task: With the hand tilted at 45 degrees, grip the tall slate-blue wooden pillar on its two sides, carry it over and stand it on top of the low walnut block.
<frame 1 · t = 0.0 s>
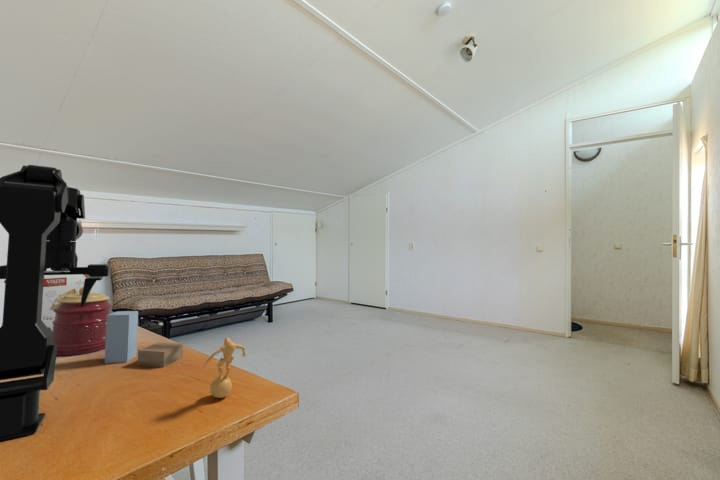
hand: (56, 308, 74), 15 cm above the table, tool pointing down, fingers open, 9 cm apart
canister: (82, 349, 91), on the table
figurine: (223, 399, 62), on the table
walnut block: (160, 362, 82), on the table
blue pillar: (121, 359, 83), on the table
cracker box: (64, 339, 100), on the table
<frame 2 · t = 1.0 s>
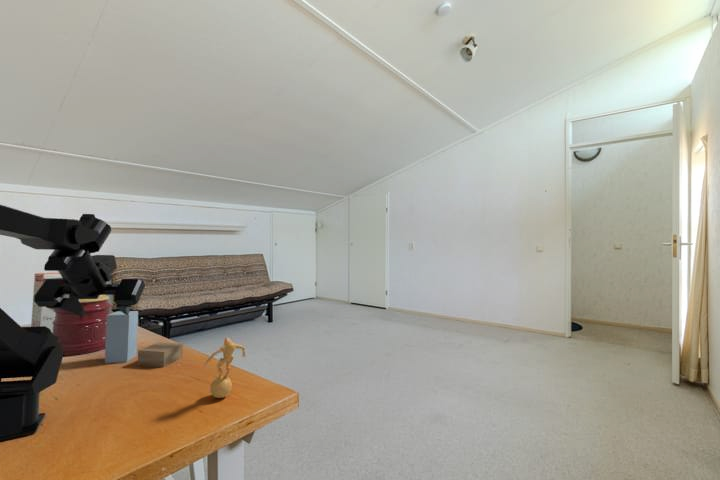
hand: (106, 313, 76), 13 cm above the table, tool tilted 45°, fingers open, 9 cm apart
nothing on the table moved.
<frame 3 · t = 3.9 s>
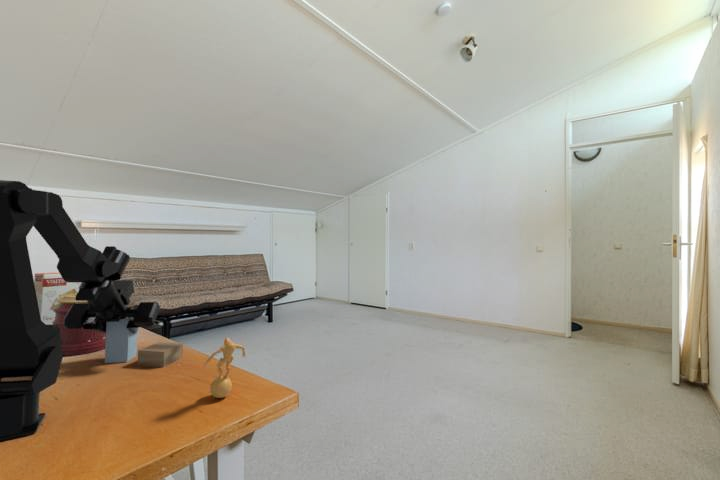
hand: (124, 332, 85), 7 cm above the table, tool tilted 45°, fingers closed on blue pillar, 5 cm apart
blue pillar: (121, 359, 83), on the table, touching gripper
everything else where it was.
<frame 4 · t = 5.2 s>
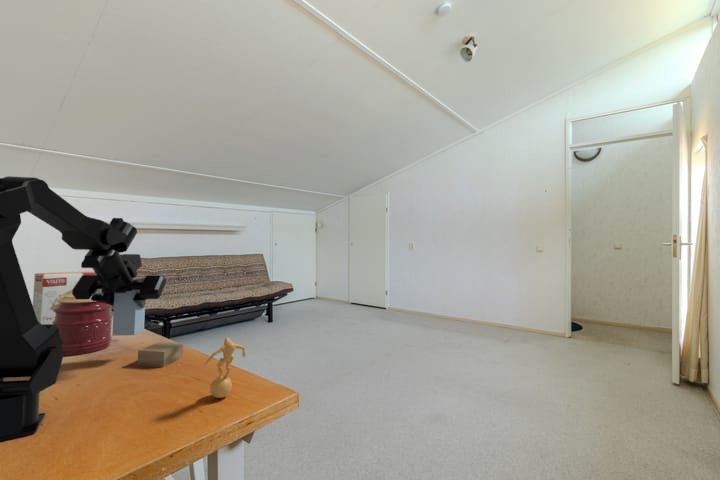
hand: (132, 306, 85), 13 cm above the table, tool tilted 45°, fingers closed on blue pillar, 5 cm apart
blue pillar: (128, 332, 83), point 7 cm above the table, touching gripper
everything else where it was.
when the fingers open (12 cm above the table, at t = 6.6 s): blue pillar drops 2 cm, resting on walnut block.
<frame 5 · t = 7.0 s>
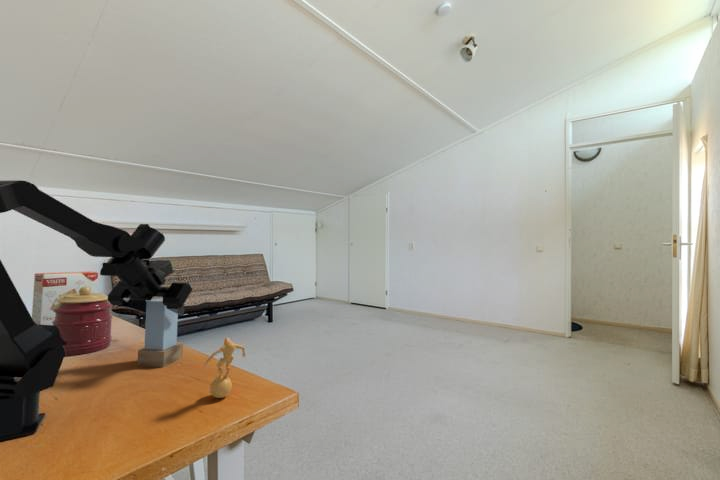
hand: (166, 313, 84), 12 cm above the table, tool tilted 45°, fingers open, 9 cm apart
walnut block: (160, 362, 82), on the table, touching blue pillar
blue pillar: (160, 346, 82), point 4 cm above the table, touching walnut block
everything else where it was.
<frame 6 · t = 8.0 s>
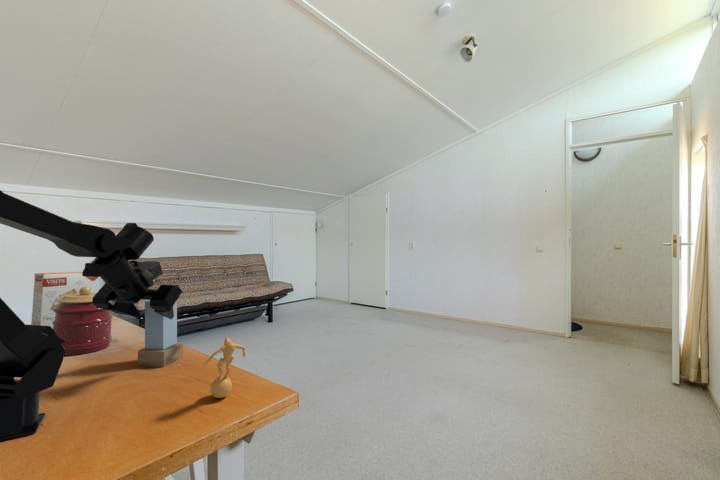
hand: (155, 316, 80), 12 cm above the table, tool tilted 45°, fingers open, 9 cm apart
walnut block: (160, 362, 82), on the table
blue pillar: (161, 346, 82), point 4 cm above the table
everything else where it was.
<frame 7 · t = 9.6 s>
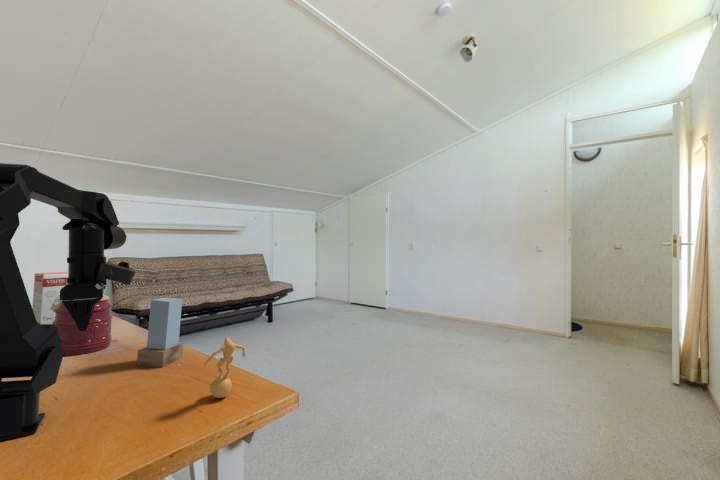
hand: (86, 324, 68), 13 cm above the table, tool pointing down, fingers open, 9 cm apart
walnut block: (160, 362, 82), on the table, touching blue pillar
blue pillar: (163, 346, 82), point 4 cm above the table, touching walnut block
everything else where it was.
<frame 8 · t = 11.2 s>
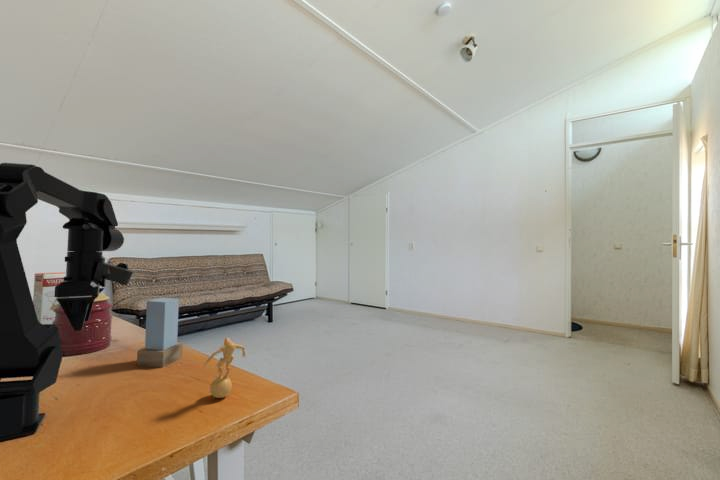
hand: (81, 325, 67), 12 cm above the table, tool pointing down, fingers open, 9 cm apart
walnut block: (160, 362, 82), on the table
blue pillar: (161, 346, 82), point 4 cm above the table
everything else where it was.
at the end: blue pillar 0.1 cm off-centre on the walnut block, point 4.1 cm above the walnut block's base; blue pillar tilted 2°; the gripper is holding nothing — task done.
